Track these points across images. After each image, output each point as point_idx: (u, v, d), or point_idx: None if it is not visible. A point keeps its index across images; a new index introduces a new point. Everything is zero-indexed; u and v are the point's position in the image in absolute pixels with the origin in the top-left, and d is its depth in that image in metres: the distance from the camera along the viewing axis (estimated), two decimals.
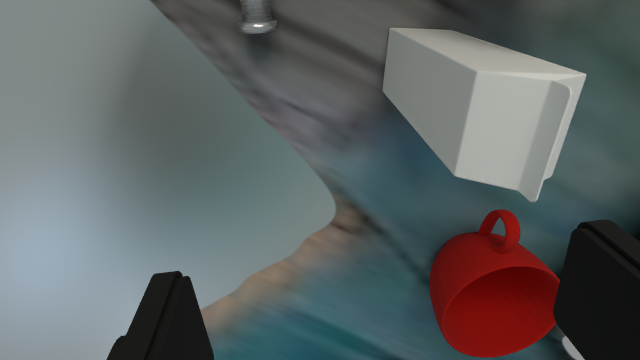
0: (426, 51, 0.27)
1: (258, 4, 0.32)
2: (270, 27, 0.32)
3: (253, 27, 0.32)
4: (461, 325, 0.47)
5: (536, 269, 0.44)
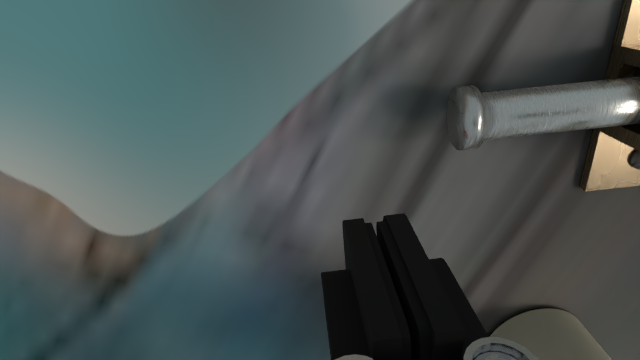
0: None
1: (508, 127, 0.20)
2: (471, 146, 0.20)
3: (479, 123, 0.19)
4: None
5: None
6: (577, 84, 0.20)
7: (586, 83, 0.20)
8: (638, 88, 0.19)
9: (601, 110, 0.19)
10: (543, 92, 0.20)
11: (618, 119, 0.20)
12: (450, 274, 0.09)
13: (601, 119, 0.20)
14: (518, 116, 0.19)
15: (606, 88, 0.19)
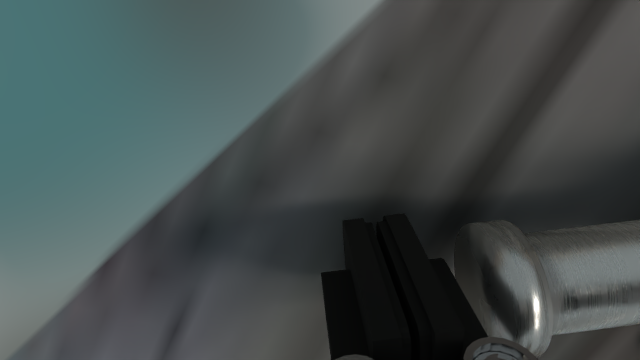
0: None
1: (595, 324, 0.09)
2: None
3: (537, 330, 0.08)
4: None
5: None
6: None
7: None
8: None
9: None
10: None
11: None
12: (450, 274, 0.09)
13: None
14: (620, 304, 0.09)
15: None
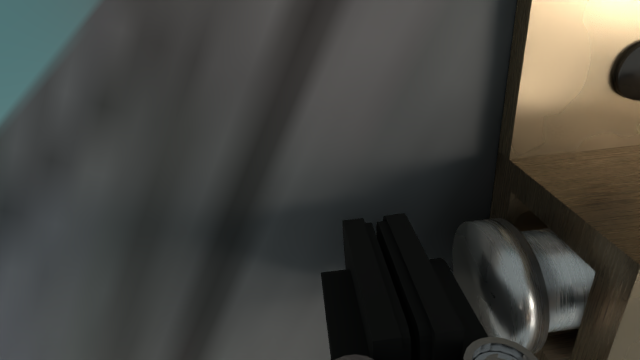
0: None
1: None
2: None
3: (533, 327, 0.08)
4: None
5: None
6: None
7: None
8: None
9: None
10: None
11: None
12: (450, 274, 0.09)
13: None
14: None
15: None
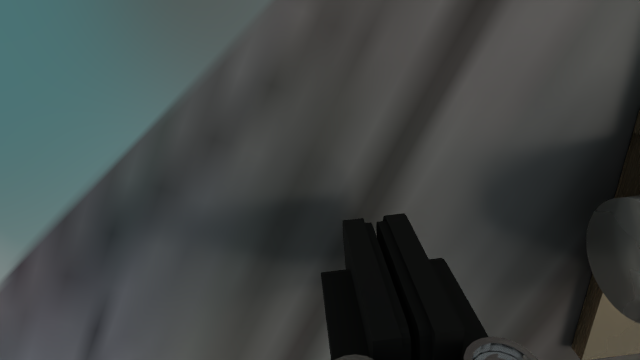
0: None
1: None
2: None
3: None
4: None
5: None
6: None
7: None
8: None
9: None
10: None
11: None
12: (450, 274, 0.09)
13: None
14: None
15: None
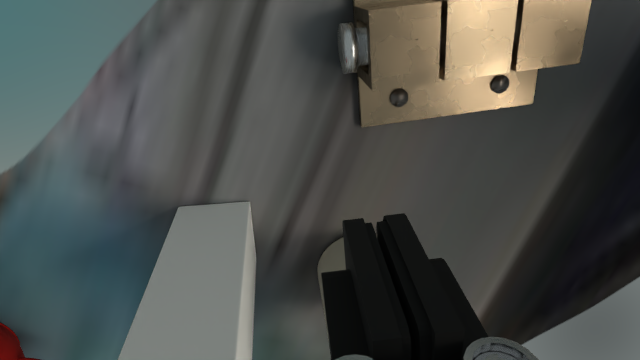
0: (236, 291, 0.24)
1: None
2: (351, 68, 0.26)
3: (352, 48, 0.25)
4: None
5: None
6: None
7: None
8: None
9: None
10: None
11: None
12: (450, 274, 0.09)
13: None
14: None
15: None
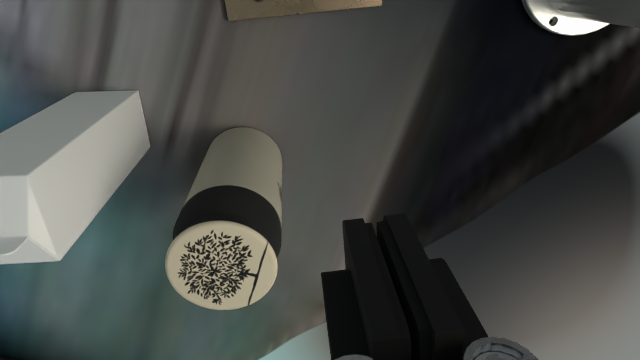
0: (84, 128, 0.29)
1: None
2: None
3: None
4: None
5: None
6: None
7: None
8: None
9: None
10: None
11: None
12: (450, 274, 0.09)
13: None
14: None
15: None
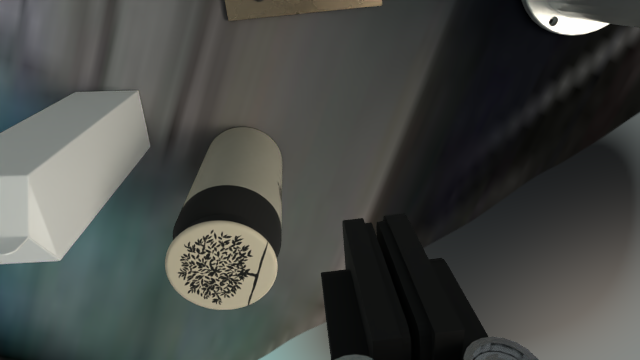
0: (84, 128, 0.29)
1: None
2: None
3: None
4: None
5: None
6: None
7: None
8: None
9: None
10: None
11: None
12: (450, 274, 0.09)
13: None
14: None
15: None
